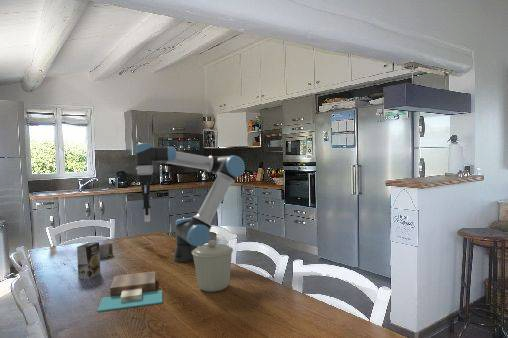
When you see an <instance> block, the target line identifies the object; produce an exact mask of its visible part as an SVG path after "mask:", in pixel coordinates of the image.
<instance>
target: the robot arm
mask: <svg viewBox="0 0 508 338" xmlns="http://www.w3.org/2000/svg"><path fill="white" fill-rule="evenodd" d="M135 156H136V167H135V171H136V172H137V177H136V178H137V179H136V180H137V183H139V184H142V185H141V195H142V197H143V198H142V199H143V201H142V202H143V207H142V210H143V217H144V218H143V220H144V222H145V223H148V222H151V209H152V207H151V205H150V193H151V192H150V189H151V185H149V183H153V182H154V175H153V173H154V170H153V169H154V166H153V163H157V162H158V163H162V164H170V165H176V166H182V167H188V168H195V169H200V170H205V171H206V172H208V173H213V174H216V179H215V180H214V182H213V184H212V185H211V188H210V189H209V191H208V192H207V194H206V197H205V199H204V201H203V202H202V205H201V207H199V210H198V212H197V214H196V215H193V216H192V217H188V218H187V217H185V218H179V219H176V220H175V239H176V240H175V242H176V243H175V244H176V246H175V249H174V250H175V251H174V254H173V260H174V262H177V263H189V262H194V257H193V255H192V251H193V250H194V249H196V248H197V247H199V246H202V245H206V244H208V242H209V241H210V238H211V233H210V232H211V231H210V230H211V229H212V221H213V219H214V217H215V214H216V213H217V210H218V209H219V207H220V205H221V204H222V201H223V200H224V197H225V195H226V194H227V192H228V190H229V188H230V186H231V185H232V184H234V183H236V181H237V179H238V177H240V176H242V175H243V174H244V172H245V170H246V169H245V168H246V167H245V166H246V165H245V162H244V160H243V158H242V157H241V156H237V155H231V154H230V155H221V156H218V155H217V156H216V155H215V156H213V155H209V156H205V155H199V154H194V153H188V152H183V151H177V150H176V148H175V147H174V146H153V145H152V143H150V142H139V143H136V145H135Z"/></svg>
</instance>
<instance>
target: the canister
mask: <svg viewBox="0 0 508 338" xmlns="http://www.w3.org/2000/svg"><path fill="white" fill-rule="evenodd" d="M233 252H234V248H233V247H231V246H229V245H227V244H222V243H217V241H216V240H215V239H209V240H208V241H207V243H206V244H204V245H202V246H198V247H197V248H196V249H194V250H193V251H192V255H193V257H194V261H193V263H194V268H195V270H194V271H195V276H196V282H197V285H198V288H199V289H200V290H202V291H204V292H210V293H212V292H214V293H215V292H219V291H222V290H225V289H226V288H227V287H228V286H229V284H230V280H231V279H230V278H231V272H232V271H231V269H232V258H233V257H232V254H233Z"/></svg>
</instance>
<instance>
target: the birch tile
mask: <svg viewBox="0 0 508 338" xmlns="http://www.w3.org/2000/svg"><path fill="white" fill-rule="evenodd" d="M141 299H142V288H136V289H128V290H122V293H121V302H127V301H134V300H141Z"/></svg>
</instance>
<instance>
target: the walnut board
mask: <svg viewBox="0 0 508 338" xmlns="http://www.w3.org/2000/svg"><path fill="white" fill-rule="evenodd" d="M156 274H157V273H156V271H145V272H136V273H129V274H127V273H126V274H118V275H115V276H114V277H113V280H112V283H111V285H110V287H109V291H110V292H109V293H110V294H109V296H110V297H112V296H120V295H121V293H122V290H128V289H136V288H142V293H143V292H151V291H156V283H157V278H156V277H157V276H156Z"/></svg>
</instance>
